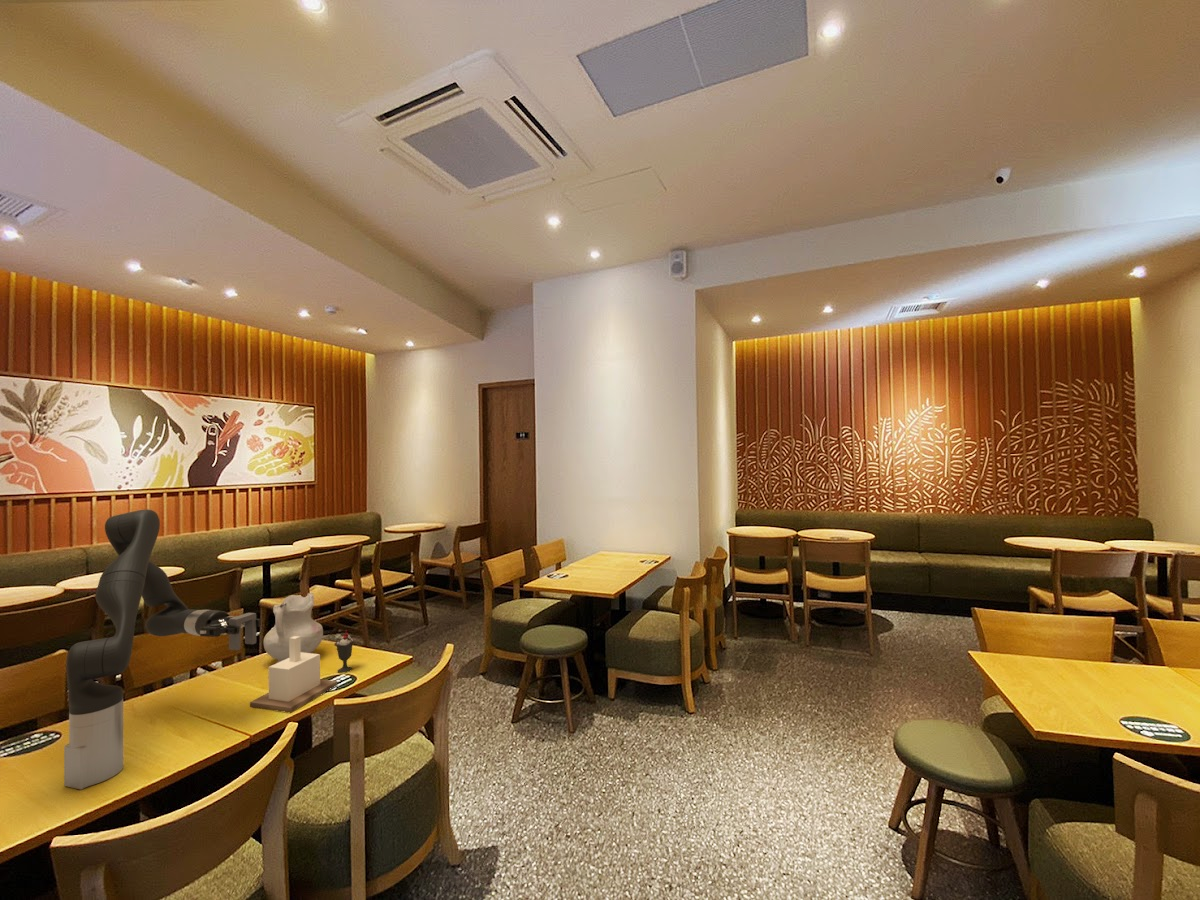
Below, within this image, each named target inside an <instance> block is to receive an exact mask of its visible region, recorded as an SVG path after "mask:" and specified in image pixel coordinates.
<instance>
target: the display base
mask: <svg viewBox="0 0 1200 900" xmlns="http://www.w3.org/2000/svg"><path fill="white" fill-rule="evenodd" d="M335 685H337V686H338V681H336V680H330V679H329V680H328V679H321V678H320V685H318V686H316V687H314V688H312V689H311V690H309V691H307V692H305V693H303V694H302V695H300V696H298V697H296V698H294V699H293V700H291V701H289V702H288V701H281V700H274V699H269V692H267V693H265V694H263V695H261V696H259V697H257V698H255V699H253V700H251V701H249V708H254V709H261V708H262V710H268V711H274V710H278V711H277V712H281V711H285V712H284V713H288V712H290V713H289V714H291V713H293V712H295V711H297V710H298V709H300V708H302V707H303V706H305V705H307V704H308V703H311V702H312V701H313V699H314V700H315V699H317V698H318V696H319V697H321V696H322V695H324V694H325V693H324V692H326V691H327V690H329V689H330V688H332V687H334V686H335ZM334 688H335V687H334ZM332 689H333V688H332ZM329 691H330V690H329ZM327 692H328V691H327ZM327 692H326V693H327ZM323 693H324V694H323ZM321 694H322V695H321ZM316 697H317V698H316ZM294 710H295V711H294Z"/></svg>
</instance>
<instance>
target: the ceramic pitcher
mask: <svg viewBox="0 0 1200 900" xmlns="http://www.w3.org/2000/svg"><path fill="white" fill-rule="evenodd" d="M314 596H315V595H314V593H313V592H307V595H306V596H302V595H297V594H296V595H295V594H291V595H288V596H286V597H285V598H284V599H283V600H282V602H281V604H274V605H273V608H272V612H273V614H274V617H275V621H274V622H275V623H274V626H273V627H272V628H271V629H270V630H269V631H268V632H267V633H266V634H265V636H264V638H263V648H264V651H265V652H266V654H267V655H269V656H270V657H271V658H272V659H275V660H277V661H276V663H279V662H281V661H283V660H285V659H287V658H289V638H291V637H294V636H299V637H300V646H301V652H304V653H313V652H314V651H316V649H317V648H319V646H320V644H321V642H323V641H322V640H323V637H324V629H323V625H322V624H321V623H319V622H317V621H315V620H314V619H313V618H312V617H311V616H312V615H311V614H312V609H313V608H314V606H315V597H314ZM276 663H275V664H276Z"/></svg>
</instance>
